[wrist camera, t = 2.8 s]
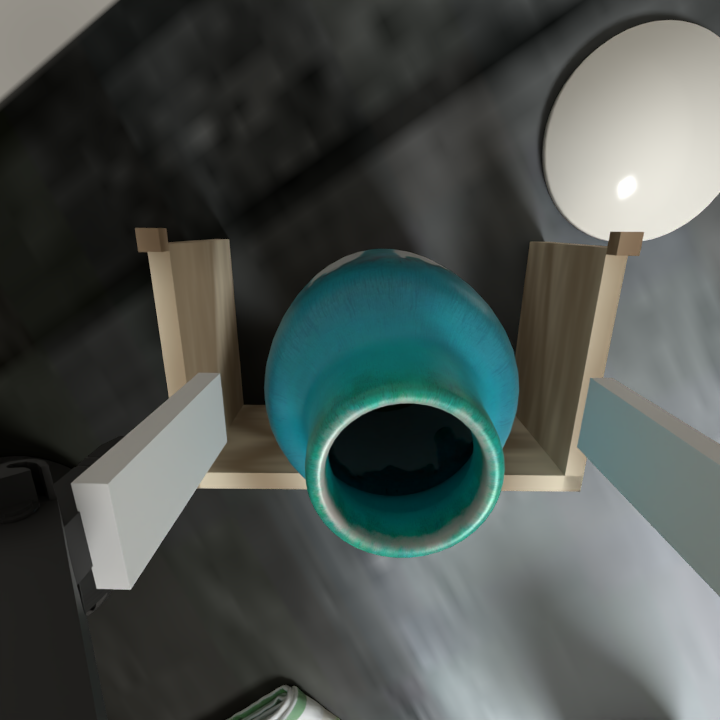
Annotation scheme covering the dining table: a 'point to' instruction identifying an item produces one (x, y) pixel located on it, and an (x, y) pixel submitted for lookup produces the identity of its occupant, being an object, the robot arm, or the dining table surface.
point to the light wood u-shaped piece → (533, 355)
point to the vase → (393, 401)
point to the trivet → (637, 132)
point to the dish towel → (284, 707)
